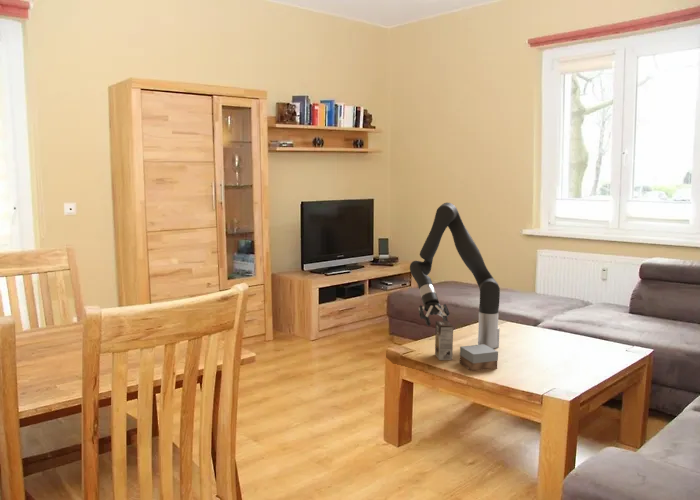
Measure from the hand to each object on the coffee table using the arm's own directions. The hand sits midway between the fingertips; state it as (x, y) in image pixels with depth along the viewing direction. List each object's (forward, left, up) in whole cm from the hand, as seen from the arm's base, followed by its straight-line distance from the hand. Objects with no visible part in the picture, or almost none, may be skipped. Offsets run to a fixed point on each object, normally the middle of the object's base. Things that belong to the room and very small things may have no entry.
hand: (437, 324), depth 291 cm
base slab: (-10, +22, -14) cm, 28 cm away
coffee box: (0, +7, -14) cm, 15 cm away
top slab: (-10, +22, -10) cm, 26 cm away
